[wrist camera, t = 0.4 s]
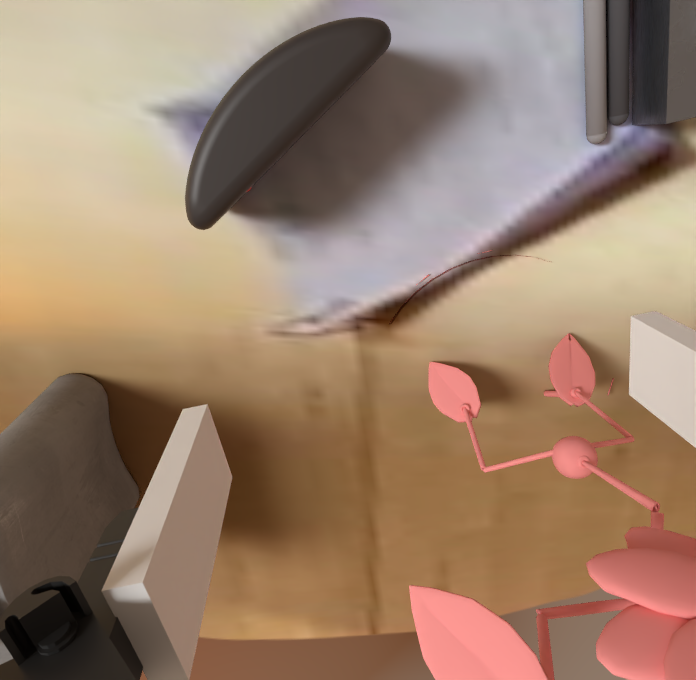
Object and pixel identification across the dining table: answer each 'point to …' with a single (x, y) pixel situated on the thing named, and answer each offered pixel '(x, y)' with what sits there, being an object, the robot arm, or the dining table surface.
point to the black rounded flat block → (276, 110)
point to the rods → (597, 65)
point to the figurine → (605, 569)
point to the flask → (58, 486)
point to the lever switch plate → (664, 61)
